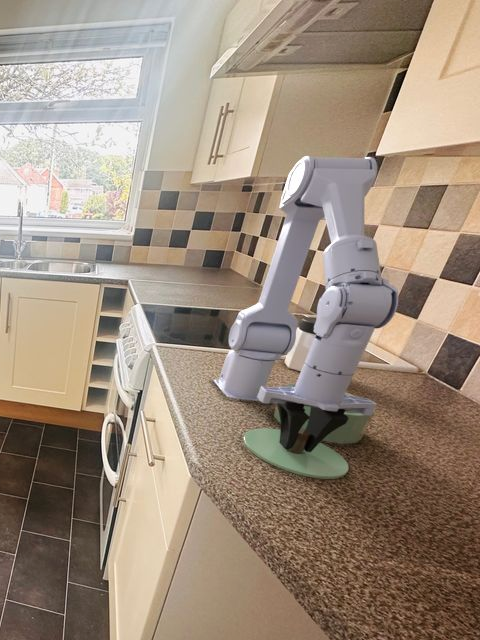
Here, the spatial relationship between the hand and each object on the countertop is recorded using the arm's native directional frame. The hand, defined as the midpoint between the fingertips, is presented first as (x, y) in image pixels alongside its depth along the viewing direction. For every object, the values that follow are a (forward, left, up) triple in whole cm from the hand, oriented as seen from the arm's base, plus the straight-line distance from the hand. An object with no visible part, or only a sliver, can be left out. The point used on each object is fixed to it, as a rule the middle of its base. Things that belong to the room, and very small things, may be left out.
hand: (294, 447), depth 66 cm
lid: (0, 0, -1) cm, 1 cm away
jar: (-46, +23, -2) cm, 51 cm away
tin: (-12, +9, -2) cm, 15 cm away
